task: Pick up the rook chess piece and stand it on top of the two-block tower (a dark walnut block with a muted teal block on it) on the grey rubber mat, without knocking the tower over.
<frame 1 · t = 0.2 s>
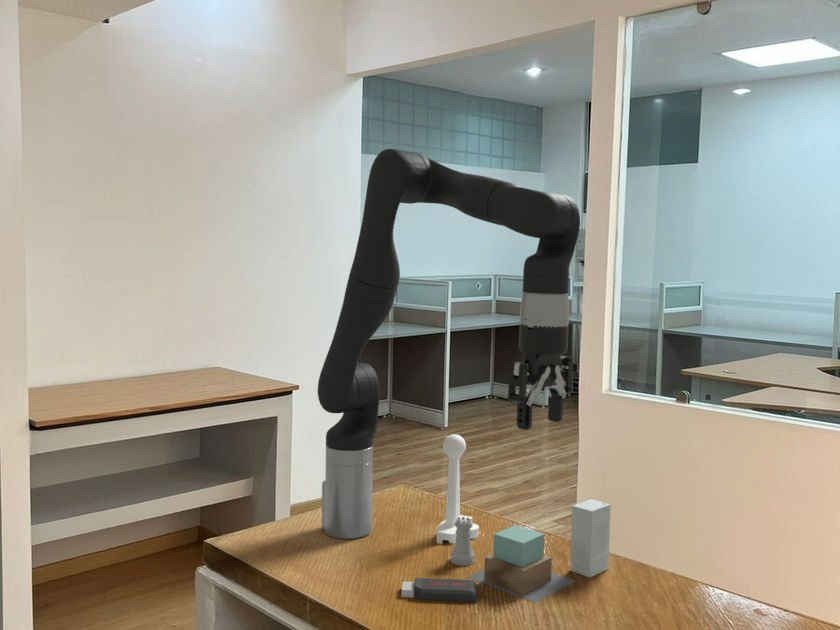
hand: (539, 424, 122), 28 cm above the table, tool pointing down, fingers open, 8 cm apart
mat: (520, 581, 132), on the table
usb drive: (439, 600, 125), on the table
rook chess piece: (462, 563, 139), on the table
walnut block: (517, 580, 131), resting on mat, touching teal block
white ball-topped post: (459, 537, 152), on the table
skincare box: (588, 572, 136), on the table
teal block: (518, 557, 131), point 4 cm above the table, touching walnut block
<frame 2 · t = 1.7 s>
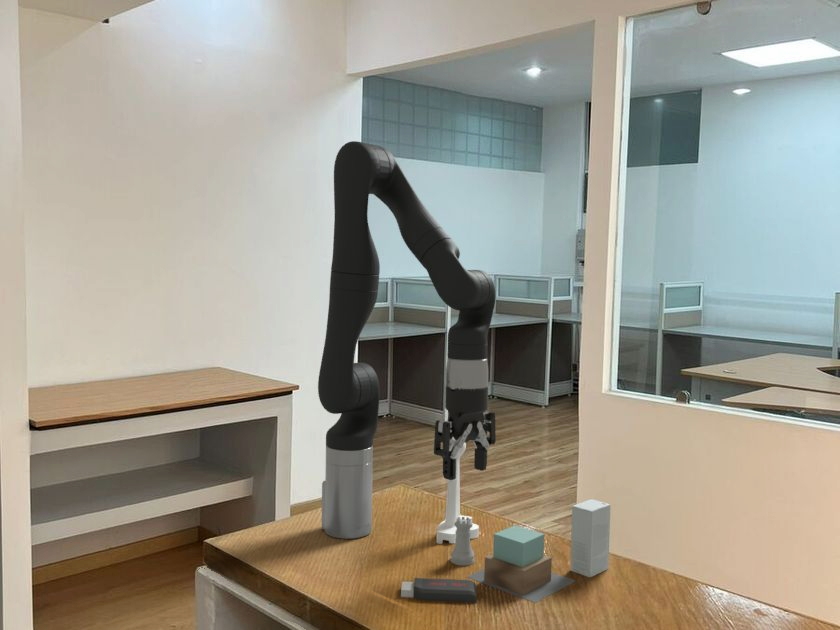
hand: (465, 474, 138), 16 cm above the table, tool pointing down, fingers open, 8 cm apart
nothing on the table moved.
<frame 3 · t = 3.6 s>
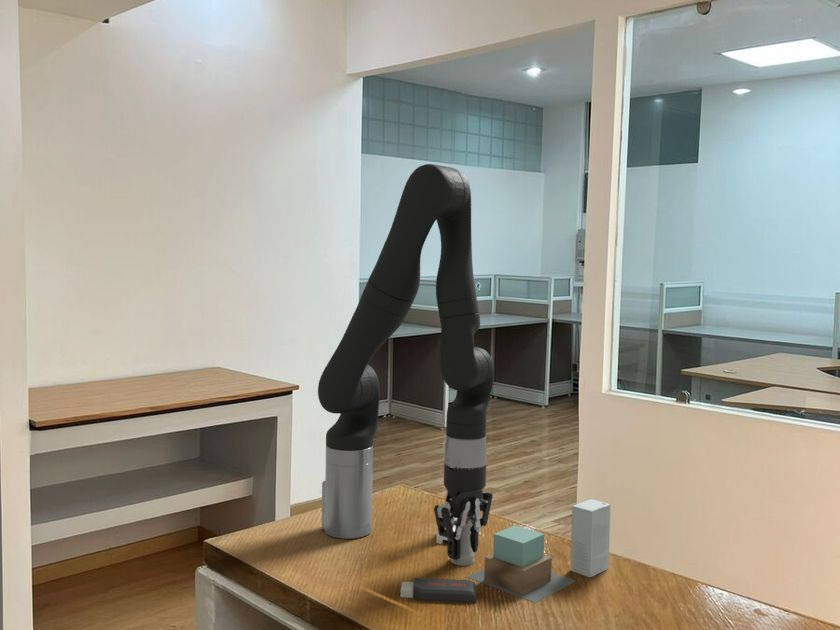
hand: (462, 554, 139), 2 cm above the table, tool pointing down, fingers closed on rook chess piece, 4 cm apart
rook chess piece: (462, 563, 139), on the table, touching gripper
everything else where it was.
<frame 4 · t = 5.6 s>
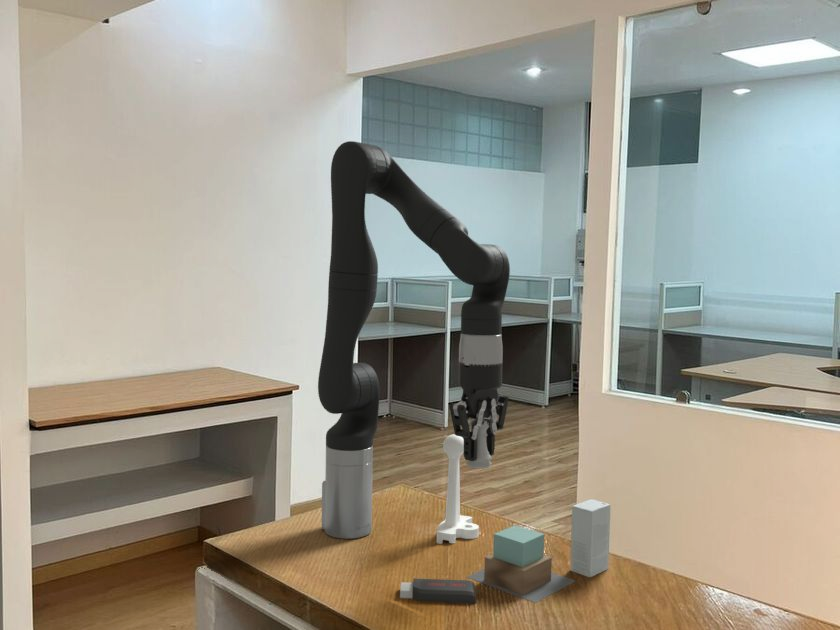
hand: (479, 457, 136), 20 cm above the table, tool pointing down, fingers closed on rook chess piece, 4 cm apart
rook chess piece: (478, 467, 136), point 18 cm above the table, touching gripper
everything else where it was.
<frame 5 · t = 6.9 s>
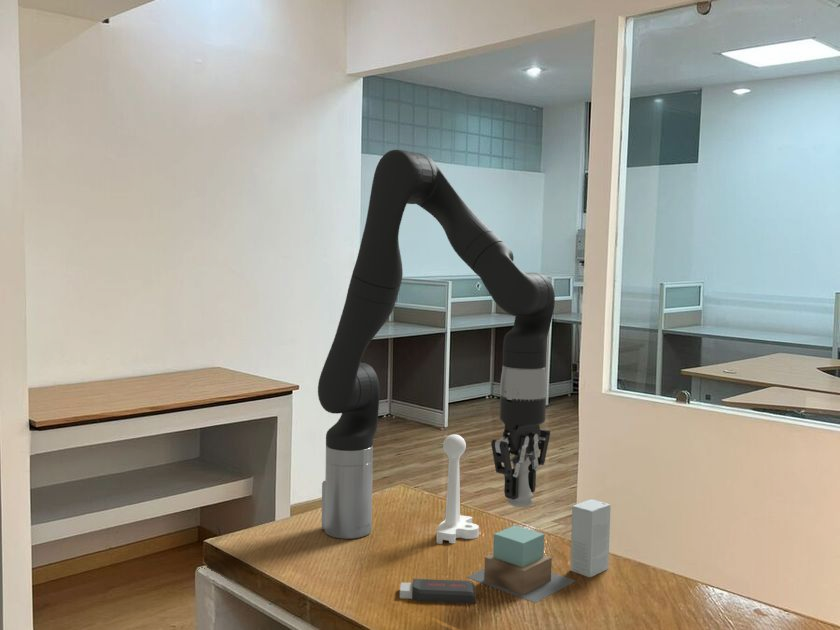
hand: (519, 494, 130), 15 cm above the table, tool pointing down, fingers closed on rook chess piece, 4 cm apart
rook chess piece: (519, 504, 130), point 13 cm above the table, touching gripper
everything else where it was.
when the fingers open (11 cm above the table, at t = 8.0 s): rook chess piece stays where it is, resting on teal block.
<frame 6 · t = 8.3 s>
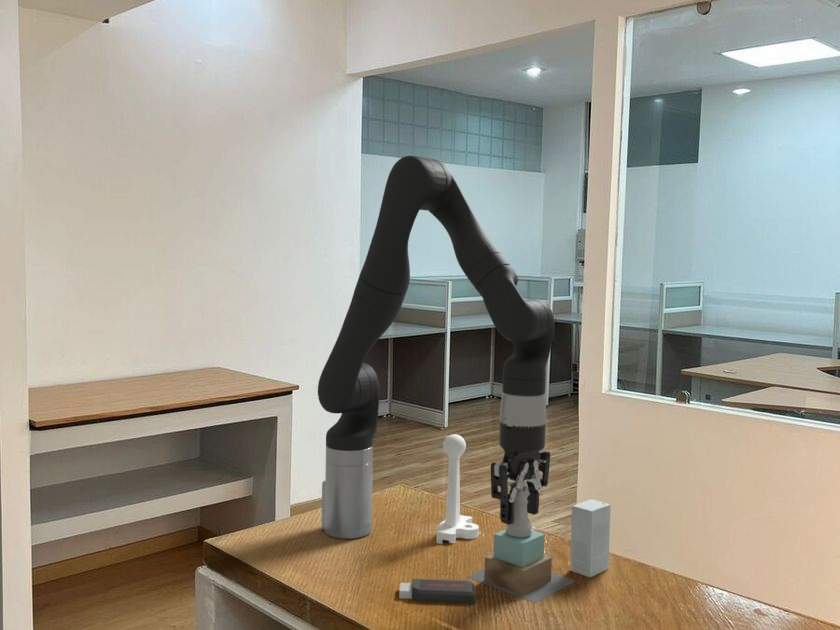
hand: (519, 517, 130), 11 cm above the table, tool pointing down, fingers open, 6 cm apart
rook chess piece: (518, 535, 130), point 8 cm above the table, touching teal block
teal block: (518, 557, 131), point 4 cm above the table, touching rook chess piece, walnut block
everything else where it was.
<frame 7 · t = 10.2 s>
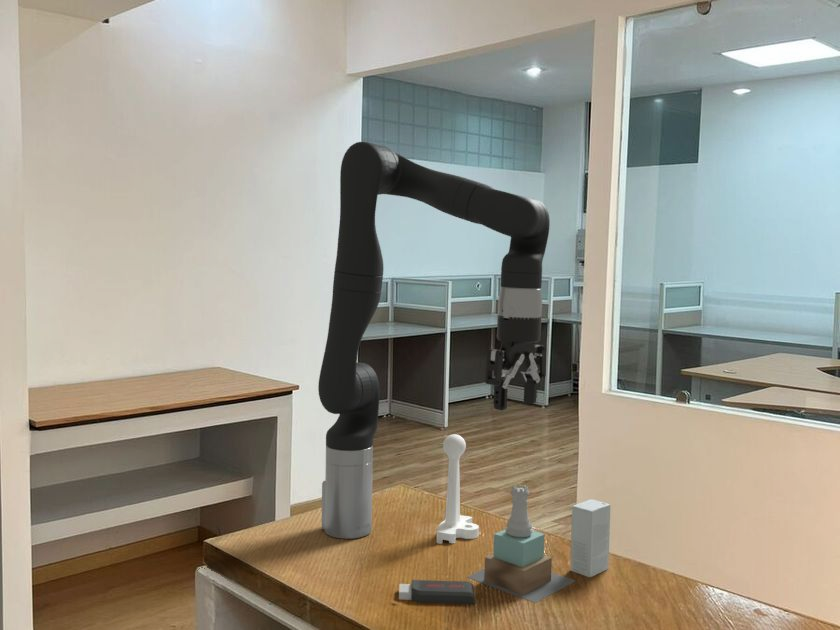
hand: (515, 406, 136), 29 cm above the table, tool pointing down, fingers open, 8 cm apart
nothing on the table moved.
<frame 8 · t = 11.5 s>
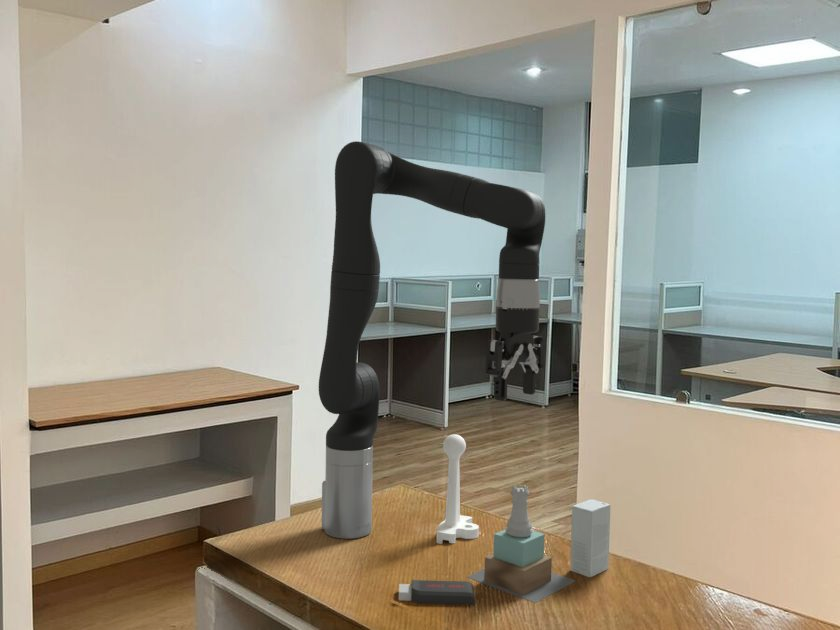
hand: (514, 396, 137), 30 cm above the table, tool pointing down, fingers open, 8 cm apart
at the end: rook chess piece 0.1 cm from the teal block (horizontally); rook chess piece point 8.2 cm above the table; teal block tilted 0° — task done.
